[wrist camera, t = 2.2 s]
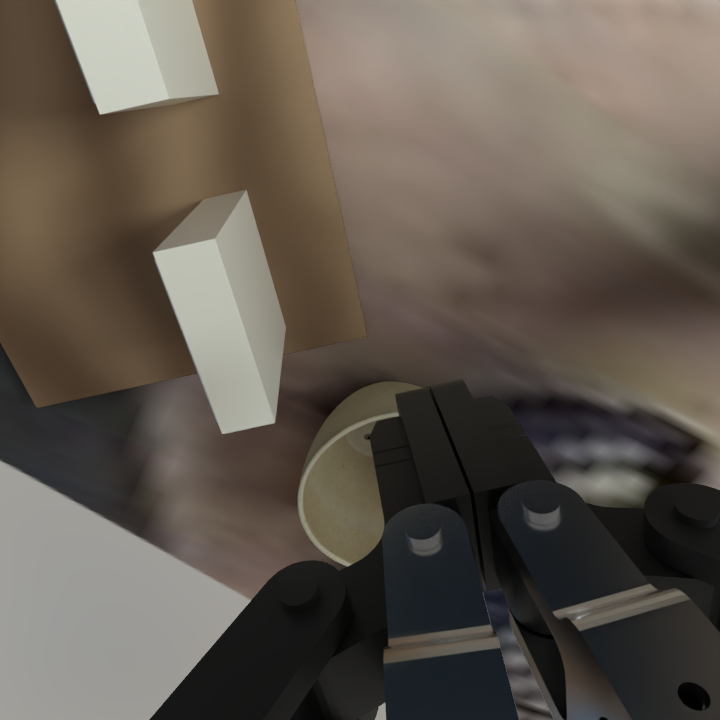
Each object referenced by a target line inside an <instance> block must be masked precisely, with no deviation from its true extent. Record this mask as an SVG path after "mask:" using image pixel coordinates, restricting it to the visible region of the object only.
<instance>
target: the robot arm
mask: <svg viewBox="0 0 720 720" xmlns="http://www.w3.org/2000/svg"><path fill="white" fill-rule="evenodd" d="M395 398H396V403H397V408H398V413H399V416H398V417H393V418H388V419H384V420H379V421H376V423H375V426H374V428H373V430H372V432H371V435H370V443H371V448H372V454H373V460H374V465H375V471H376V477H377V482H378V488H379V494H380V499H381V505H382V511H383V516H384V531H383V534H382V537H381V539H380V541H379V542H378V544H377V545H376V546H375V548H374V549H373V550H372V551H371V552H370V553H369V554H368V555H366V556H365V557H364V558H362V559H361V560H359V561H357V562H356V563H354V564H352V565H350V566H348V567H346V568H344V569H342V570H340V571H338V570H337V569H336V568H335V567H333V566H332V565H330V564H328V563H325V562H322V561H315V560H312V561H302V562H298V563H295V564H292V565H290V566H287V567H285V568H284V569H282V570H280V571H279V572H278V573H276V574H275V575H274V576H273V577H272V578H271V579H270V580H269V581H268V582H267V583H266V584H265V585H264V586H263V588H262V589H261V590H260V591H259V592H258V593H257V595H256V596H255V597H254V598H253V599H252V600H251V602H250V603H249V604H248V605H247V606H246V608H245V609H244V610H243V611H242V612H241V613H240V614H239V616H238V617H237V618H236V619H235V620H234V622H233V623H232V624H231V625H230V626H229V627H228V628H227V630H226V631H225V632H224V633H223V634H222V636H221V637H220V638H219V639H218V640H217V641H216V643H215V644H214V645H213V646H212V647H211V648H210V650H209V651H208V652H207V653H206V654H205V655H204V657H203V658H202V659H201V660H200V661H199V662H198V664H197V665H196V666H195V667H194V668H193V669H192V671H191V672H190V673H189V674H188V675H187V676H186V678H185V679H184V680H183V681H182V682H181V683H180V685H179V686H178V687H177V688H176V689H175V691H174V692H173V693H172V694H171V695H170V696H169V698H168V699H167V700H166V701H165V702H164V703H163V705H162V706H161V707H160V708H159V709H158V710H157V712H156V713H155V714H154V715H153V716H152V717H151V719H150V720H375V717H376V714H377V711H378V706H380V705H382V704H383V703H385V704H386V720H519V717H518V713H517V709H516V706H515V702H514V698H513V694H512V690H511V686H510V682H509V678H508V675H507V671H506V667H505V663H504V659H503V655H502V651H501V648H500V644H499V641H498V638H497V635H496V633H495V632H493V630H492V627H491V623H490V619H489V615H488V611H487V607H486V603H485V599H484V595H483V592H484V591H483V584H482V578H483V580H484V583H485V586H486V589H487V591H488V590H493V589H498V588H502V590H503V593H504V596H505V598H506V601H507V603H508V610H509V619H510V625H511V628H512V631H513V633H514V635H515V637H516V640H517V642H518V644H519V646H520V648H521V650H522V652H523V654H524V657H525V659H526V661H527V663H528V665H529V667H530V669H531V672H532V674H533V676H534V678H535V680H536V682H537V684H538V687H539V689H540V691H541V693H542V695H543V697H544V699H545V702H546V704H547V706H548V708H549V710H550V712H551V714H552V717H553V719H554V720H720V490H717V489H714V488H711V487H708V486H704V485H699V484H691V483H677V484H670V485H666V486H663V487H660V488H658V489H656V490H655V491H653V492H652V493H651V494H650V495H649V496H648V497H647V499H646V501H645V505H644V509H638V508H611V507H601V506H596V505H592V504H588V503H586V502H585V501H584V500H583V499H582V497H581V496H580V495H579V494H578V493H577V492H575V491H574V490H573V489H571V488H569V487H567V486H565V485H563V484H560V483H557V482H556V481H555V479H554V478H553V476H552V475H551V473H550V471H549V470H548V468H547V467H546V465H545V463H544V462H543V460H542V459H541V457H540V455H539V454H538V452H537V451H536V449H535V447H534V446H533V444H532V443H531V441H530V439H529V438H528V437H527V436H526V433H525V431H524V430H523V428H522V427H521V425H520V424H519V423H518V420H517V419H516V417H515V416H514V414H513V412H512V411H511V409H510V408H509V406H507V405H505V404H504V403H502V402H500V401H499V400H497V399H496V398H494V397H492V396H489V397H485V398H480V399H476V400H473V398H472V396H471V394H470V392H469V390H468V388H467V386H466V384H465V383H464V381H463V380H462V379H461V380H456V381H452V382H447V383H442V384H438V385H433V386H430V387H429V389H428V387H424V388H420V389H415V390H411V391H406V392H401V393H397V394H395ZM481 575H482V576H481Z"/></svg>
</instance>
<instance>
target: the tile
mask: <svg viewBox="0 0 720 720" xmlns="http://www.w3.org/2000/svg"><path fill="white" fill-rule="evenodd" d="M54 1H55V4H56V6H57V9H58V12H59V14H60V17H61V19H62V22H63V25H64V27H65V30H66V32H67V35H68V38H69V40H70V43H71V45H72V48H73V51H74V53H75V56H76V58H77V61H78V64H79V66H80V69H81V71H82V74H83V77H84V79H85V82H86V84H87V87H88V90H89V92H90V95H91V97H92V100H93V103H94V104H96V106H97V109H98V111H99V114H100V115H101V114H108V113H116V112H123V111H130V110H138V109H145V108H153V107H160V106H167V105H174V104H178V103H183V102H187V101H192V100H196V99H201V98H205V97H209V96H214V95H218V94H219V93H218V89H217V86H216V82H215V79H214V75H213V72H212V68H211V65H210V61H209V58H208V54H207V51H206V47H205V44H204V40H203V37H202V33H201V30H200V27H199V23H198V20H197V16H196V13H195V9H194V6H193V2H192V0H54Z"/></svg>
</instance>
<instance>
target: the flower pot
mask: <svg viewBox="0 0 720 720" xmlns="http://www.w3.org/2000/svg"><path fill="white" fill-rule="evenodd" d="M420 388H422V387H419V386H416V385H413V384H409V383H404V382H394V381H388V382H379V383H374V384H371V385H368V386H366V387H363V388H361V389H359V390H358V391H356V392H354V393H353V394H351V395H350V396H348V397H347V398H346V399H345V400H344V401H342V402H341V403H340V404H339V405H338V406H337V407H336V408H335V409H334V410H333V412H332V413H331V414H330V415H329V416H328V418H327V419H326V420H325V422H324V423H323V425H322V426H321V428H320V430H319V431H318V433H317V435H316V437H315V439H314V441H313V443H312V445H311V447H310V450H309V452H308V455H307V457H306V460H305V463H304V466H303V470H302V474H301V478H300V483H299V489H298V497H297V506H298V513H299V517H300V521H301V524H302V526H303V528H304V531H305V532H306V534H307V536H308V537H309V539H310V540H311V541H312V542H313V544H314V545H315V546H316V547H317V548H318V549H319V550H320V551H321V552H323V553H324V554H325V555H327V556H328V557H329V558H331V559H333V560H334V561H336V562H338V563H340V564H342V565H345V566H347V567H348V566H350V565H352V564H354V563H356V562H357V561H359V560H361V559H362V558H364V557H365V556H366V555H368V554H369V553H370V552H371V551H372V550H373V549H374V548H375V546H376V545H377V544H378V542H379V541H380V539H381V537H382V534H383V531H384V516H383V511H382V505H381V499H380V494H379V488H378V482H377V477H376V471H375V465H374V460H373V454H372V448H371V443H370V439H368V437H369V436H370V435H371V432H372V430H373V428H374V426H375V423H376V421H379V420H384V419H388V418H393V417H398V416H399V413H398V408H397V403H396V398H395V394H397V393H401V392H406V391H411V390H415V389H420Z"/></svg>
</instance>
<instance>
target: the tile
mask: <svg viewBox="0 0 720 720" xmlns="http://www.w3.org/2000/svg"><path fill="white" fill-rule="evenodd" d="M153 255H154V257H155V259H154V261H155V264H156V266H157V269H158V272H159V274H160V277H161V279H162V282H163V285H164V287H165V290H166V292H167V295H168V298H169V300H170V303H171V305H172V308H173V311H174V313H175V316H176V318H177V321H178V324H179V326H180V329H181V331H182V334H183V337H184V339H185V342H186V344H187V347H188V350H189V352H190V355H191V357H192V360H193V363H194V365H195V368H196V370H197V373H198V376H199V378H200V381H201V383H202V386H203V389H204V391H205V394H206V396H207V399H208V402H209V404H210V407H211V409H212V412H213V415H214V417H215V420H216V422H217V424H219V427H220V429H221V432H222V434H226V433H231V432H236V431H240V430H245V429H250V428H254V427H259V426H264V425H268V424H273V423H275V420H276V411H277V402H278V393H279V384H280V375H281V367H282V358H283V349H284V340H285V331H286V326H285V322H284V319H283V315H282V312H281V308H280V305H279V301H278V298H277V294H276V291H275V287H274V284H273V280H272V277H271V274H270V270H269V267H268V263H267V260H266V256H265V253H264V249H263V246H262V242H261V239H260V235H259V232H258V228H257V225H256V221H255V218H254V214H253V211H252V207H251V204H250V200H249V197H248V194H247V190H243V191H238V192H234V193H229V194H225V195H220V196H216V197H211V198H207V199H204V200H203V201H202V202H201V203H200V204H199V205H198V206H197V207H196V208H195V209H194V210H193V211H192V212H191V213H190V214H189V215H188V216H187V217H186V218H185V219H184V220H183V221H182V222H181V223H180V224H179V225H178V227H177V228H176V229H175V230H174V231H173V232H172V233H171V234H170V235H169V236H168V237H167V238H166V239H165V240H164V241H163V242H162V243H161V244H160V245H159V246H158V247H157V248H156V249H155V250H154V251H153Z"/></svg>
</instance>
